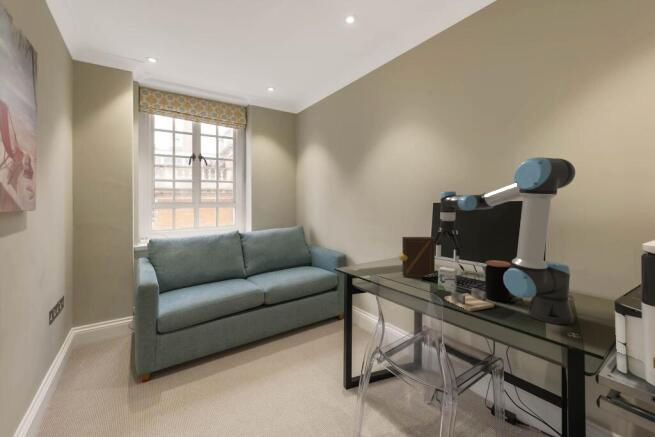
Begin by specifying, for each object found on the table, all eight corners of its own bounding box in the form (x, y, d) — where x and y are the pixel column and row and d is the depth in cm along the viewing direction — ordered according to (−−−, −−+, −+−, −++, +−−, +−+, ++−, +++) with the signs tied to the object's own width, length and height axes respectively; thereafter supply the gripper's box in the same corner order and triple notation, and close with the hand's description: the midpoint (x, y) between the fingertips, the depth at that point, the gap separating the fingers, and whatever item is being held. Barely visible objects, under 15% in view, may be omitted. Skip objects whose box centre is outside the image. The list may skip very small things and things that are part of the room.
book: (432, 274, 187) (432, 236, 186) (435, 278, 179) (436, 238, 177) (397, 274, 190) (397, 236, 189) (399, 277, 182) (399, 238, 180)
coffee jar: (503, 295, 147) (503, 260, 146) (514, 302, 136) (515, 265, 135) (481, 294, 148) (481, 260, 147) (490, 302, 137) (491, 265, 136)
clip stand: (494, 307, 131) (494, 295, 131) (469, 311, 127) (470, 299, 126) (466, 296, 146) (467, 285, 146) (444, 299, 142) (444, 288, 141)
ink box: (437, 289, 158) (437, 268, 157) (440, 287, 161) (440, 266, 161) (454, 292, 152) (454, 270, 151) (456, 290, 156) (456, 268, 155)
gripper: (471, 221, 144) (470, 263, 145) (437, 218, 167) (437, 254, 169) (459, 222, 141) (458, 264, 143) (426, 218, 165) (426, 255, 167)
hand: (447, 259), depth 156 cm, fingers open, 13 cm apart
